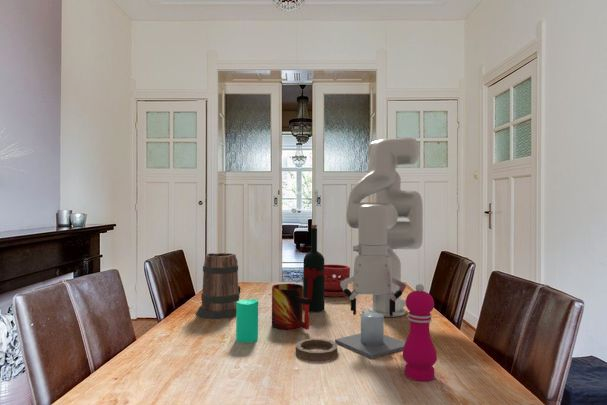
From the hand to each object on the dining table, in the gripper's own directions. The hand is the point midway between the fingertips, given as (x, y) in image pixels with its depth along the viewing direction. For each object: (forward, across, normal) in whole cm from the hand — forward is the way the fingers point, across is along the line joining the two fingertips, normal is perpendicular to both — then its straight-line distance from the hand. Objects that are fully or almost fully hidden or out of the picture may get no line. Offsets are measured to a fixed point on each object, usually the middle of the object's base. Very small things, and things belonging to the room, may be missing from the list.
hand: (372, 314), depth 109 cm
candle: (+8, -34, -2) cm, 35 cm away
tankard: (+9, -51, +27) cm, 58 cm away
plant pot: (+10, -14, +58) cm, 60 cm away
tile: (+8, 0, -1) cm, 8 cm away
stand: (+7, -14, -9) cm, 18 cm away
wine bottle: (+9, -20, +31) cm, 38 cm away
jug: (+7, -1, +1) cm, 7 cm away
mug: (+8, -24, +12) cm, 28 cm away
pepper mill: (+7, +10, -19) cm, 23 cm away
